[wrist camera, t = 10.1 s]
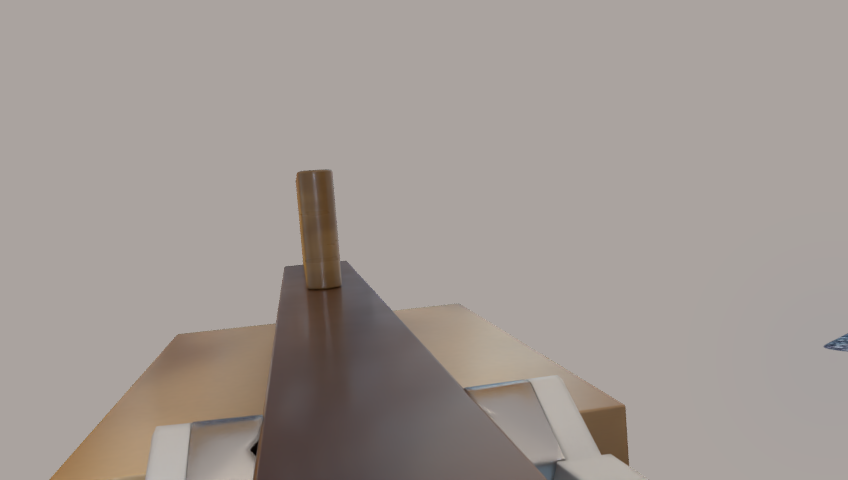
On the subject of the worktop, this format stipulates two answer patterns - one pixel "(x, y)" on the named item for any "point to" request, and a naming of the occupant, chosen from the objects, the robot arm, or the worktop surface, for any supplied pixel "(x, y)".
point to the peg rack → (363, 380)
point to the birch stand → (248, 373)
